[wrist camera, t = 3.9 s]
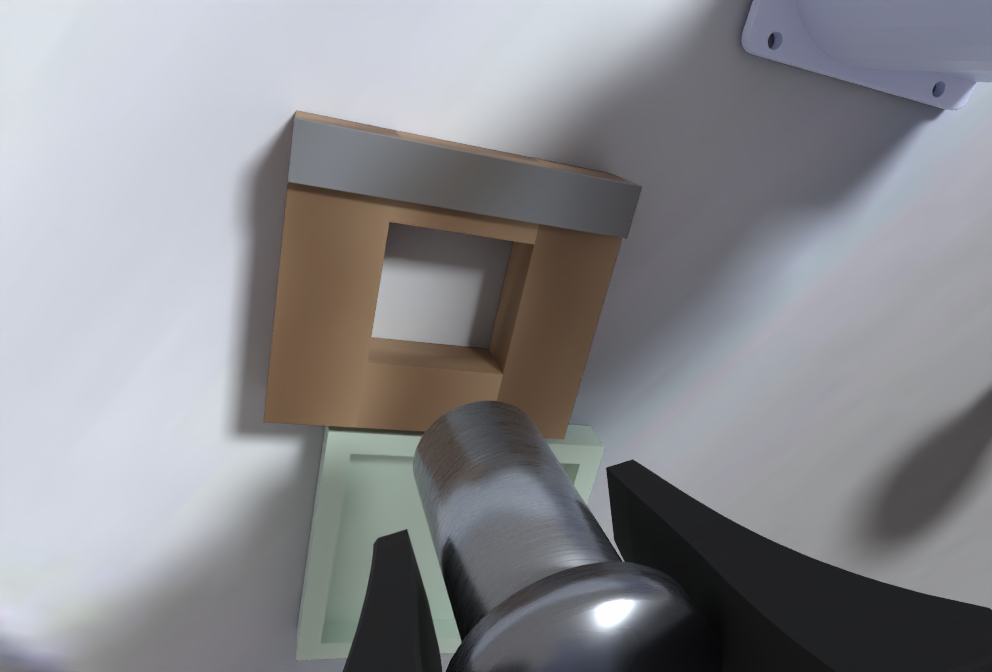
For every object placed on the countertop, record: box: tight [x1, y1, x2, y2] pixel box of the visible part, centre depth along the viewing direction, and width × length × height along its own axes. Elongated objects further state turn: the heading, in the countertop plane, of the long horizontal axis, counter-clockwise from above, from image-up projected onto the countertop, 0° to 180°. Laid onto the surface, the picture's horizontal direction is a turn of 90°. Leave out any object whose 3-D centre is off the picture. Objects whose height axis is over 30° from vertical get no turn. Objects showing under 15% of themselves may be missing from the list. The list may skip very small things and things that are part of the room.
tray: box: [296, 424, 605, 661], centre depth 25 cm, size 10×10×2 cm
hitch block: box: [264, 111, 642, 440], centre depth 21 cm, size 10×9×2 cm
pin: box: [413, 401, 723, 672], centre depth 13 cm, size 4×4×7 cm
